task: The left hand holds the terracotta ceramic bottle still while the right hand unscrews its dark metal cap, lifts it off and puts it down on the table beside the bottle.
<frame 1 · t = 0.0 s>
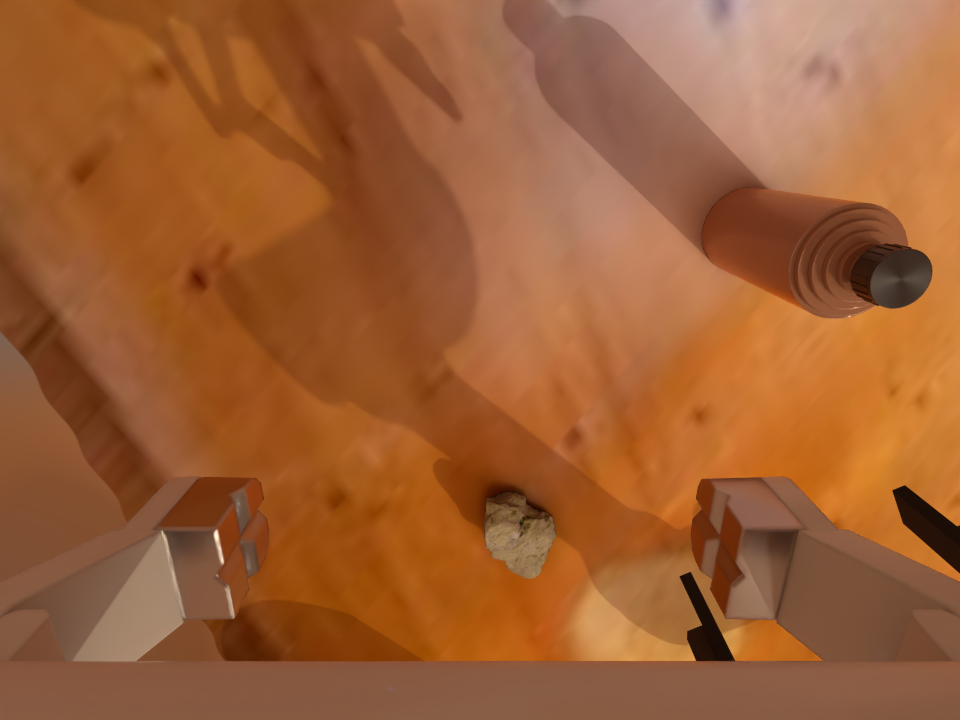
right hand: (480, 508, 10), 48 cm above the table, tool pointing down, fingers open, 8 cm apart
cap: (897, 278, 35), point 22 cm above the table, screwed on, not yet turned
bottle: (743, 231, 56), on the table
rock: (512, 523, 68), on the table
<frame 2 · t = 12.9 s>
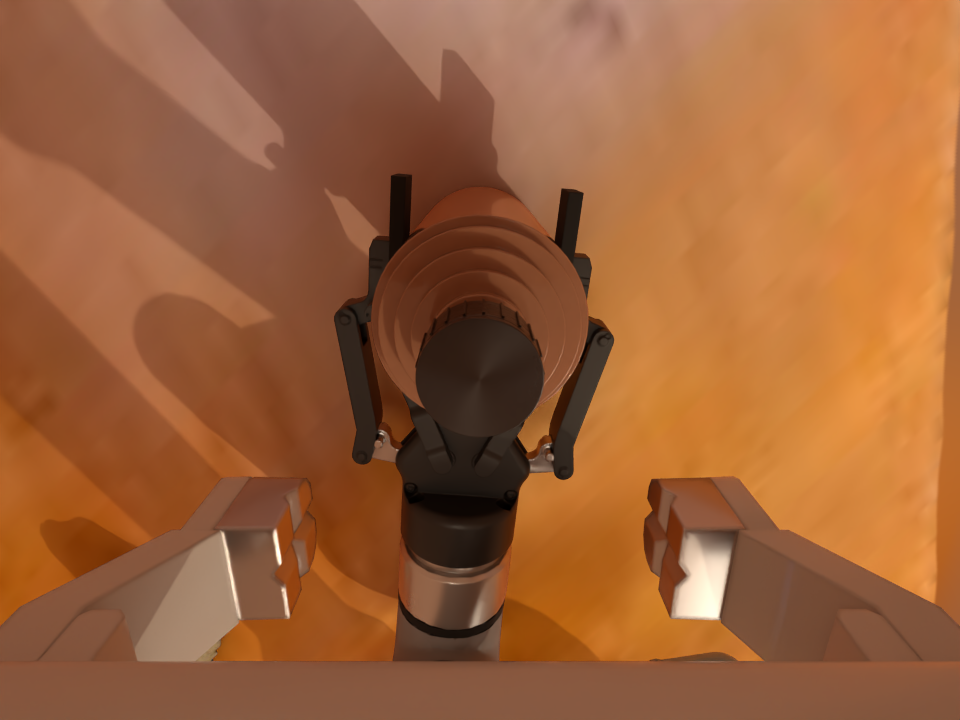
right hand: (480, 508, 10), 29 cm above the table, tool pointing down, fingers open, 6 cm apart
left hand: (487, 183, 30), fingers closed on bottle, 8 cm apart
cap: (479, 376, 17), point 22 cm above the table, screwed on, not yet turned
bottle: (479, 251, 37), on the table, touching left hand
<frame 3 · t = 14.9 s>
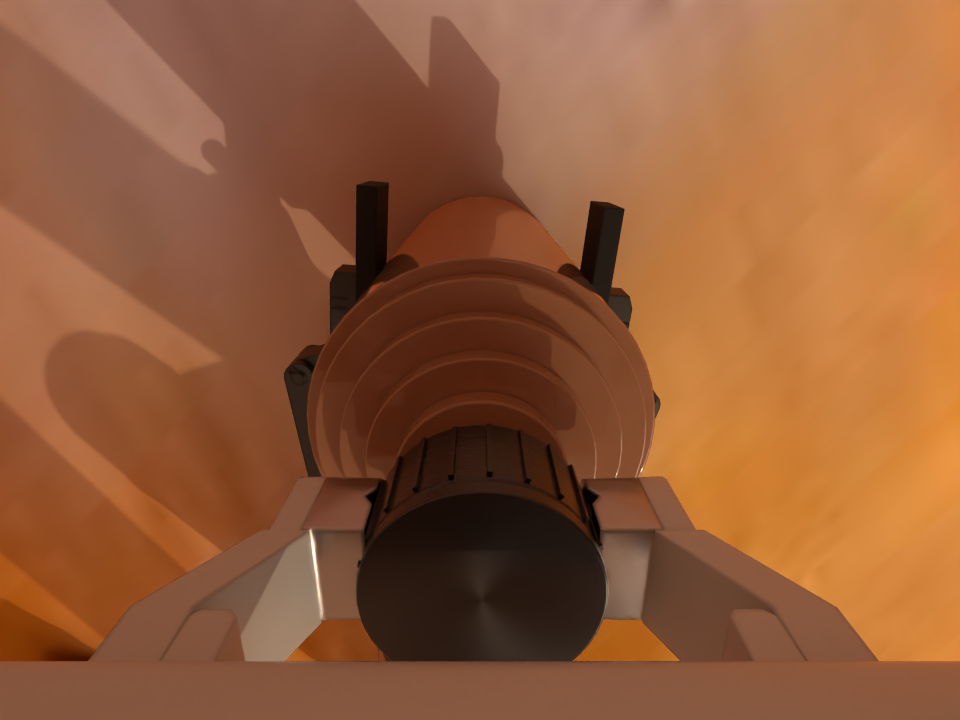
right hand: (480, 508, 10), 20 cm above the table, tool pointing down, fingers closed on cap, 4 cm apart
cap: (481, 585, 9), point 22 cm above the table, screwed on, not yet turned, touching right hand
bottle: (480, 278, 29), on the table, touching left hand
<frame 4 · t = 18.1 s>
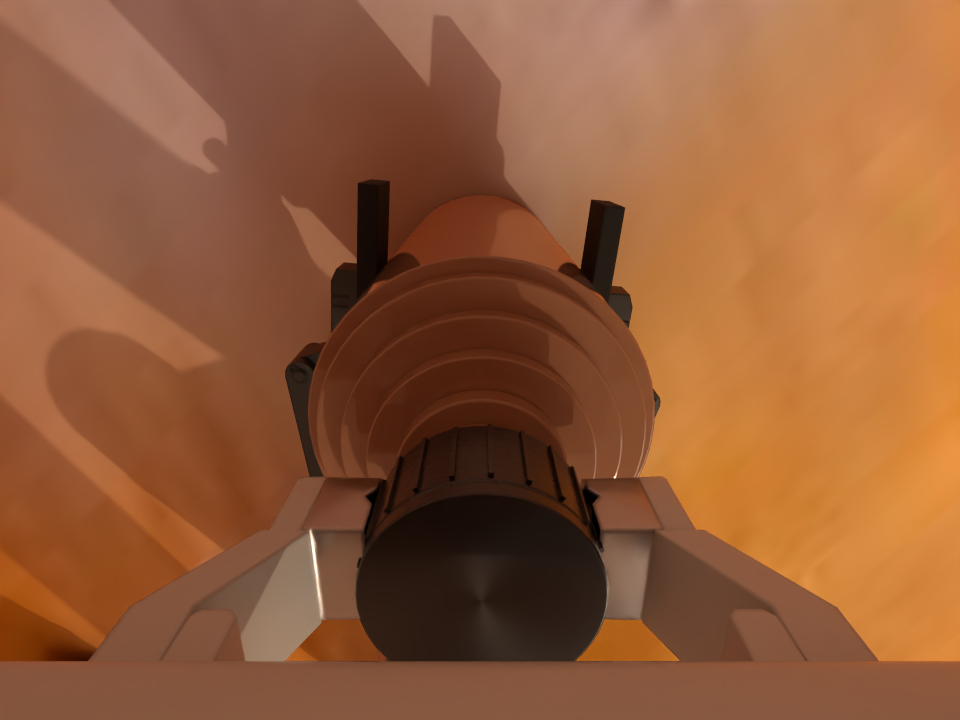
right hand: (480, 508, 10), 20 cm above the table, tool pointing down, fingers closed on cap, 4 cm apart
cap: (482, 586, 9), point 22 cm above the table, turned 85° so far, risen 0.1 cm, still on its thread, touching right hand
bottle: (480, 277, 29), on the table, touching left hand
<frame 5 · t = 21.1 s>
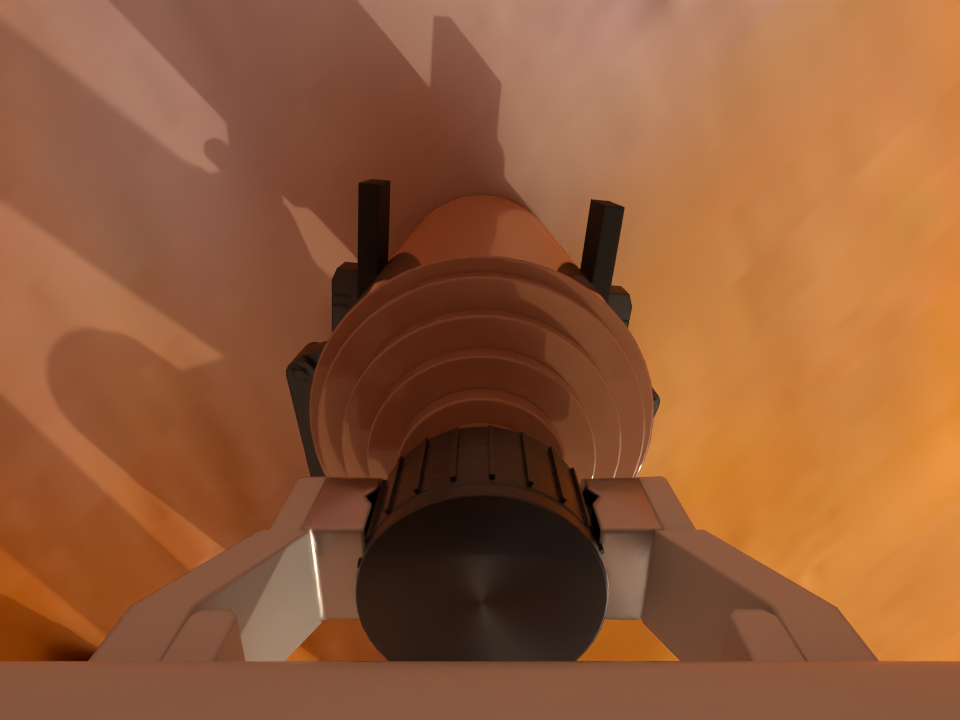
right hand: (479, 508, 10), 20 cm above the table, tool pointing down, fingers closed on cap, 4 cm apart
cap: (482, 587, 9), point 22 cm above the table, turned 171° so far, risen 0.2 cm, still on its thread, touching right hand
bottle: (481, 277, 29), on the table, touching left hand
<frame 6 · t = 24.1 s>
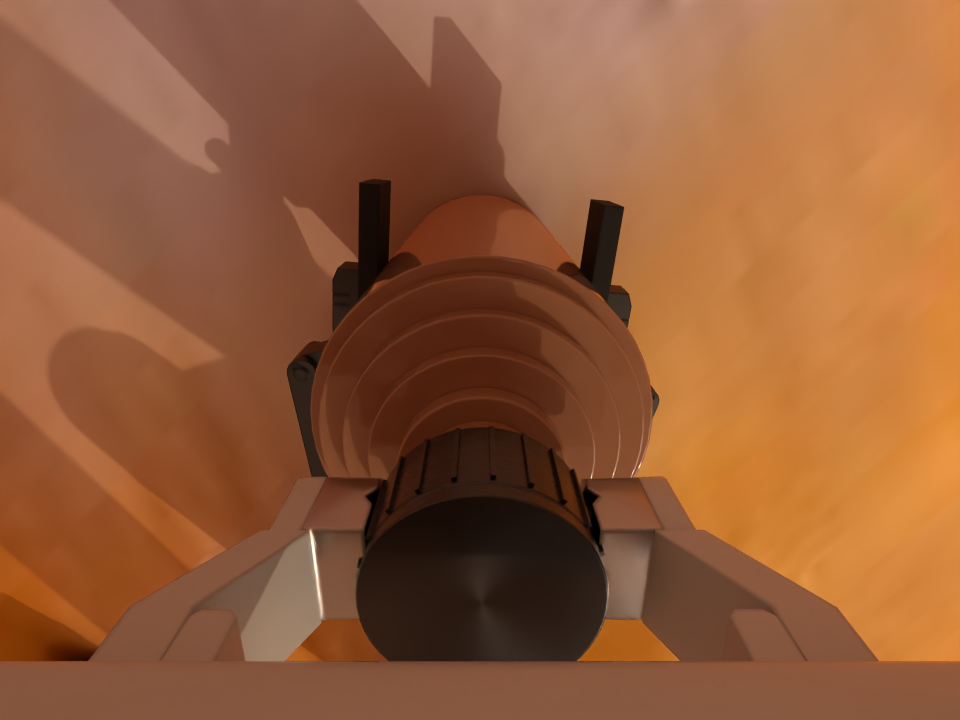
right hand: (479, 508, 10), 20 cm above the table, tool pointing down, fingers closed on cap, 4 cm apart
cap: (482, 588, 9), point 22 cm above the table, turned 256° so far, risen 0.3 cm, still on its thread, touching right hand
bottle: (481, 276, 29), on the table, touching left hand
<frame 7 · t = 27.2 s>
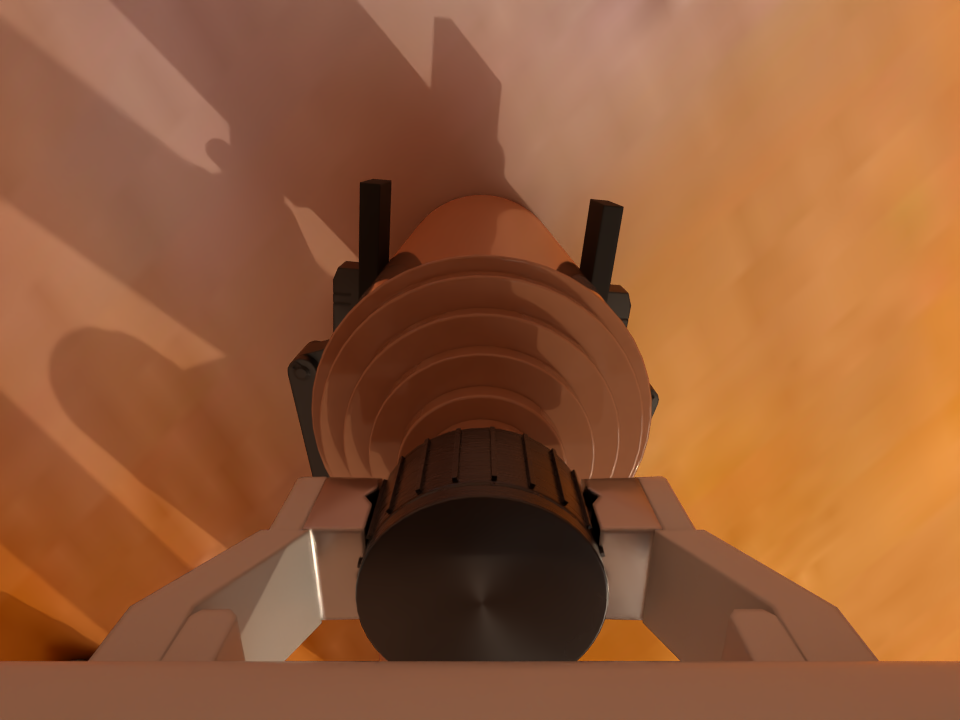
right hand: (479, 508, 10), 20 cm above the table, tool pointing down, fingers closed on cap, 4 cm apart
cap: (482, 589, 9), point 22 cm above the table, turned 341° so far, risen 0.4 cm, still on its thread, touching right hand
bottle: (481, 276, 30), on the table, touching left hand
when the right hand's fingers open (2 cm above the table, at t = 37.3 s): cap drops 2 cm, point 2 cm above the table.
when the left hand's fingers open (6 cm above the table, at t = 38.5 s): bottle stays where it is, on the table.
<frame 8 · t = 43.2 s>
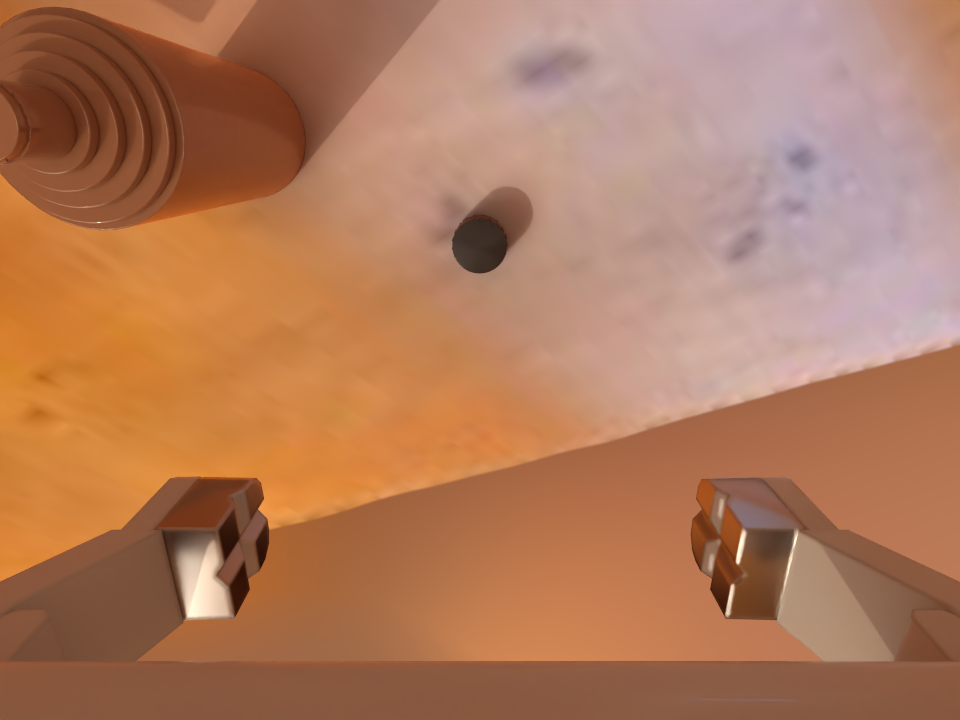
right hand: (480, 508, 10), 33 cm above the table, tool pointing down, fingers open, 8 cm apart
cap: (479, 245, 39), point 2 cm above the table, off its thread
bottle: (244, 135, 38), on the table
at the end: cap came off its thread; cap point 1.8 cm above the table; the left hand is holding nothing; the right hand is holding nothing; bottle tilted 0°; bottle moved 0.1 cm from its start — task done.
